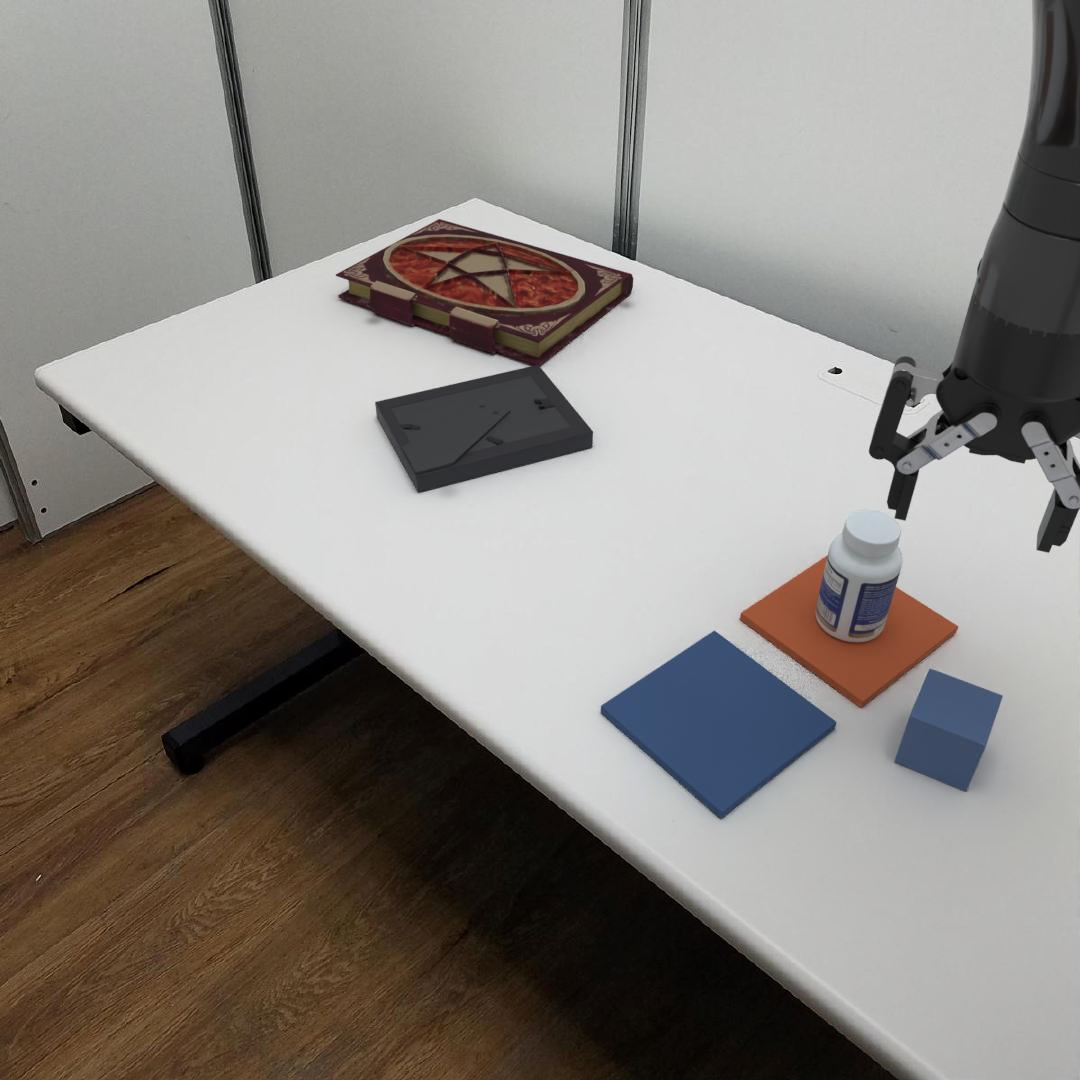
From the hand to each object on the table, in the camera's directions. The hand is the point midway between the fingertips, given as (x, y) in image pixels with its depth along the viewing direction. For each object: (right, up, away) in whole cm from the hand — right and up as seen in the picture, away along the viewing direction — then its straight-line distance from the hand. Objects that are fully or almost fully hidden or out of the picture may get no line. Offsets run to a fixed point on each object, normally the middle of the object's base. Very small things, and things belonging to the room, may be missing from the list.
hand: (971, 527), depth 67 cm
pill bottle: (-3, -7, +17) cm, 19 cm away
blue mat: (-14, -14, +10) cm, 22 cm away
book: (-34, +28, +59) cm, 74 cm away
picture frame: (-33, +10, +38) cm, 51 cm away
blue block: (+1, -16, +8) cm, 18 cm away
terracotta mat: (-3, -8, +18) cm, 19 cm away
